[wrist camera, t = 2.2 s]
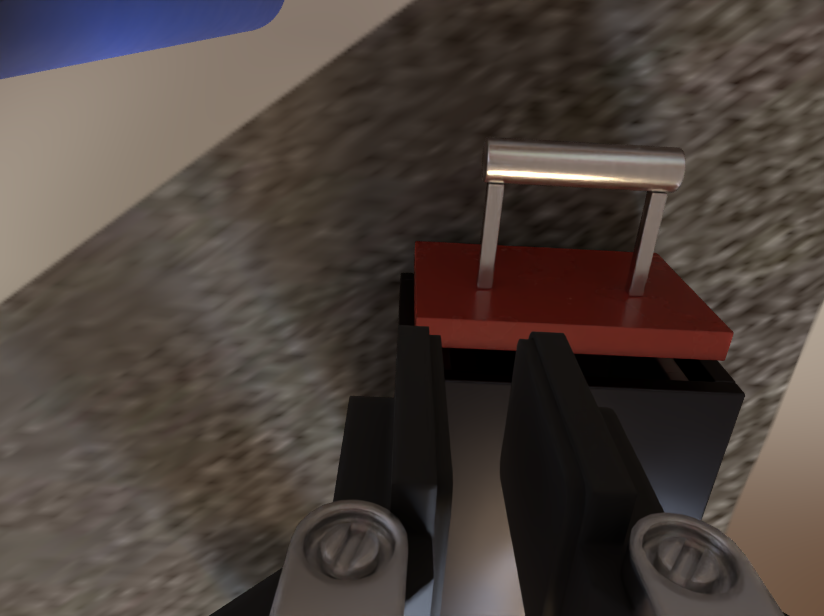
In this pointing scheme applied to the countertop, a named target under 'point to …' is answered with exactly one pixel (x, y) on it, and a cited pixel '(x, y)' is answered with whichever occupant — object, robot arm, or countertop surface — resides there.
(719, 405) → the black drawer housing
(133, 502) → the countertop surface
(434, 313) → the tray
